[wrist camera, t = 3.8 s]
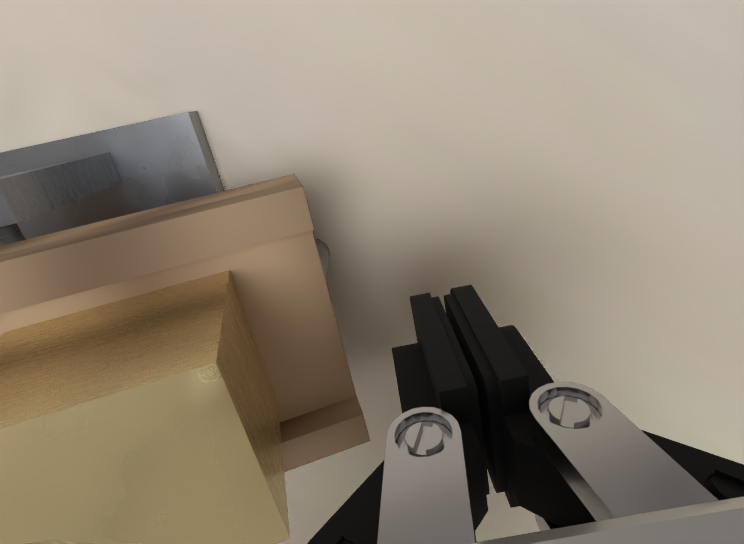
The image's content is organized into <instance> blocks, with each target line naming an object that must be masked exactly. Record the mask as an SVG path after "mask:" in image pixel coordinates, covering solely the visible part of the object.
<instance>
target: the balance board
mask: <svg viewBox="0 0 744 544" xmlns="http://www.w3.org/2000/svg"><path fill="white" fill-rule="evenodd" d="M312 230H314V227H313V223H312V219H311V216H310V212H309V208H308V204H307V201H306V197H305V193H304V189H303V186H302V185H301V183H300V182H299V180H298V179H297V178H296V176H295V175H294V174H292V175H288V176H284V177H280V178H276V179H272V180H268V181H264V182H260V183H255V184H251V185H247V186H243V187H239V188H235V189H231V190H227V191H223V192H219V193H214V194H210V195H206V196H202V197H198V198H194V199H190V200H186V201H182V202H178V203H174V204H169V205H165V206H161V207H157V208H153V209H149V210H145V211H141V212H137V213H133V214H128V215H124V216H120V217H116V218H112V219H108V220H104V221H100V222H96V223H92V224H88V225H83V226H79V227H75V228H71V229H67V230H63V231H59V232H55V233H51V234H47V235H42V236H38V237H34V238H30V239H26V240H22V241H18V242H14V243H10V244H6V245H2V246H0V336H1V335H2V334H3V333H4V332H7V331H11V330H14V329H18V328H22V327H25V326H29V325H32V324H36V323H40V322H43V321H47V320H51V319H54V318H58V317H61V316H65V315H69V314H72V313H76V312H79V311H83V310H87V309H90V308H94V307H98V306H101V305H105V304H108V303H112V302H116V301H119V300H123V299H127V298H130V297H134V296H137V295H141V294H145V293H148V292H152V291H156V290H159V289H163V288H166V287H170V286H174V285H177V284H181V283H185V282H188V281H192V280H195V279H199V278H203V277H206V276H210V275H214V274H217V273H221V272H224V271H228V270H229V271H230V273H231V276H232V279H233V281H234V284H235V287H236V290H237V292H238V295H239V298H240V301H241V303H242V306H243V309H244V312H245V314H246V317H247V320H248V323H249V325H250V328H251V331H252V333H253V336H254V339H255V342H256V344H257V347H258V350H259V353H260V355H261V358H262V361H263V364H264V366H265V369H266V372H267V375H268V377H269V380H270V383H271V386H272V388H273V391H274V394H275V396H276V399H277V402H278V410H279V421H280V432H281V444H282V455H283V466H284V472H286V471H288V470H291V469H294V468H297V467H299V466H302V465H305V464H308V463H310V462H313V461H316V460H319V459H321V458H324V457H327V456H330V455H332V454H335V453H338V452H341V451H343V450H346V449H349V448H351V447H354V446H357V445H360V444H362V443H365V442H368V441H370V438H369V435H368V431H367V427H366V423H365V419H364V416H363V413H362V410H361V407H360V404H359V402H358V399H357V396H356V393H355V389H354V385H353V382H352V378H351V374H350V370H349V367H348V363H347V359H346V355H345V352H344V348H343V344H342V340H341V337H340V333H339V329H338V325H337V322H336V318H335V314H334V310H333V307H332V303H331V299H330V295H329V292H328V288H327V284H326V281H325V277H324V273H323V269H322V266H321V262H320V258H319V254H318V251H317V247H316V243H315V239H314V236H313V232H312Z"/></svg>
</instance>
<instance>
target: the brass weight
mask: <svg viewBox="0 0 744 544" xmlns="http://www.w3.org/2000/svg"><path fill="white" fill-rule="evenodd" d="M289 538H290V533H289V522H288V510H287V499H286V488H285V477H284V466H283V455H282V444H281V432H280V421H279V410H278V402H277V399H276V396H275V394H274V391H273V388H272V386H271V383H270V380H269V377H268V375H267V372H266V369H265V366H264V364H263V361H262V358H261V355H260V353H259V350H258V347H257V344H256V342H255V339H254V336H253V333H252V331H251V328H250V325H249V323H248V320H247V317H246V314H245V312H244V309H243V306H242V303H241V301H240V298H239V295H238V292H237V290H236V287H235V284H234V281H233V279H232V276H231V273H230V271H229V270H228V271H224V272H221V273H217V274H214V275H210V276H206V277H203V278H199V279H195V280H192V281H188V282H185V283H181V284H177V285H174V286H170V287H166V288H163V289H159V290H156V291H152V292H148V293H145V294H141V295H137V296H134V297H130V298H127V299H123V300H119V301H116V302H112V303H108V304H105V305H101V306H98V307H94V308H90V309H87V310H83V311H79V312H76V313H72V314H69V315H65V316H61V317H58V318H54V319H51V320H47V321H43V322H40V323H36V324H32V325H29V326H25V327H22V328H18V329H14V330H11V331H7V332H4V333H3V334H2V335H1V336H0V544H276V543H279V542H282V541H284V540H287V539H289Z"/></svg>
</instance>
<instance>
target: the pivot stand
mask: <svg viewBox="0 0 744 544" xmlns="http://www.w3.org/2000/svg"><path fill="white" fill-rule="evenodd" d="M223 191H224V189H223V186H222V183H221V180H220V177H219V174H218V171H217V168H216V165H215V162H214V159H213V157H212V154H211V151H210V148H209V145H208V142H207V139H206V136H205V133H204V130H203V127H202V124H201V122H200V119H199V116H198V113H197V111H193V112H186V113H182V114H177V115H172V116H168V117H163V118H159V119H154V120H149V121H145V122H140V123H136V124H131V125H126V126H122V127H117V128H113V129H108V130H103V131H99V132H94V133H90V134H85V135H80V136H76V137H71V138H67V139H62V140H57V141H53V142H48V143H44V144H39V145H34V146H30V147H25V148H21V149H16V150H11V151H7V152H2V153H0V246H2V245H6V244H10V243H14V242H18V241H22V240H26V239H30V238H34V237H38V236H42V235H47V234H51V233H55V232H59V231H63V230H67V229H71V228H75V227H79V226H83V225H88V224H92V223H96V222H100V221H104V220H108V219H112V218H116V217H120V216H124V215H128V214H133V213H137V212H141V211H145V210H149V209H153V208H157V207H161V206H165V205H169V204H174V203H178V202H182V201H186V200H190V199H194V198H198V197H202V196H206V195H210V194H214V193H219V192H223ZM314 239H315V238H314ZM315 243H316V247H317V251H318V254H319V258H320V262H321V266H322V269H323V273H324V277H325V281H326V278H327V271H328V263H329V249H328V247H327V246H326V244H325V243H323V242H322V241H321V240H318V239H315Z"/></svg>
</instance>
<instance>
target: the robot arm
mask: <svg viewBox="0 0 744 544" xmlns="http://www.w3.org/2000/svg"><path fill="white" fill-rule="evenodd" d="M450 293H451V294H448V295H444V302H445V309H446V312H445V310H444V308H443V306H442V303H441V301H440V299H439V297H433V298H432V297H431V295H430V293H426V294H421V295H416V296H411V297H410V301H411V307H412V313H413V319H414V324H415V330H416V336H417V341H418V343H415V344H410V345H405V346H399V347H394V348H392V353H393V359H394V365H395V371H396V377H397V383H398V389H399V396H400V402H401V408H402V414H401V415H400V416H398V417H397V418H396V419H395V420H394V421H393V422H392V424H391V425H390V426H389V429H388V433H387V437H386V449H385V460H384V461H383V462H382V463H381V464H380V465H379V466H378V467H377V468H376V469H375V471H374V472H373V473H372V474H371V475H370V476H369V477H368V478H367V479H366V480H365V481H364V482H363V484H362V485H361V486H360V487H359V488H358V489H357V490H356V491H355V492H354V493H353V494H352V495H351V497H350V498H349V499H348V500H347V501H346V502H345V503H344V504H343V505H342V506H341V507H340V508H339V510H338V511H337V512H336V513H335V514H334V515H333V516H332V517H331V518H330V519H329V520H328V521H327V523H326V524H325V525H324V526H323V527H322V528H321V529H320V530H319V531H318V532H317V533H316V534H315V536H314V537H313V538H312V539H311V540H310V541H309V542H308V544H744V465H743V464H740V463H737V462H734V461H731V460H728V459H725V458H722V457H719V456H716V455H713V454H710V453H707V452H705V451H702V450H699V449H696V448H693V447H690V446H687V445H684V444H681V443H678V442H675V441H672V440H669V439H666V438H663V437H660V436H658V435H655V434H652V433H649V432H646V431H643V430H640V429H639V428H638V427H637V426H636V425H635V424H634V423H632V422H631V421H630V420H629V419H628V418H627V417H626V416H625V415H624V414H622V413H621V412H620V411H619V410H618V409H617V408H616V407H615V406H614V405H612V404H611V403H610V402H609V401H608V400H607V399H606V398H605V397H604V396H602V395H601V394H599V393H598V392H597V391H595V390H594V389H591V388H589V387H587V386H584V385H581V384H577V383H572V382H555V383H554V381H553V380H552V378H551V377H550V376H549V374H548V373H547V371H546V370H545V368H544V367H543V366H542V364H541V363H540V361H539V360H538V359H537V357H536V356H535V354H534V353H533V352H532V350H531V349H530V347H529V346H528V344H527V343H526V342H525V340H524V339H523V337H522V336H521V335H520V333H519V332H518V330H517V329H516V328H515V327H514V326H513V325H510V326H505V327H499V328H498V326H497V324H496V323H495V321H494V320H493V318H492V317H491V315H490V313H489V312H488V310H487V309H486V307H485V305H484V304H483V302H482V301H481V299H480V298H479V296H478V294H477V293H476V291H475V290H474V288H473V287H472V285H468V286H462V287H457V288H452V289H451V290H450ZM487 469H488V472H489V475H490V478H491V480H492V483H493V486H494V488H495V491H496V492H497V493H499V492H504V491H505V494H506V497H507V499H508V502H509V504H510V507H517V506H521V507H523V508H525V509H527V510H529V511H531V512H533V513H535V518H536V522H537V524H538V527H539V529H540V531H539V532H534V533H528V534H522V535H517V536H511V537H505V538H499V539H494V540H488V541H482V542H476V535H475V530H476V529H477V527H478V526H479V524H480V522H481V521H482V519H483V518H484V516H485V515H486V513H487V511H488V506H487V497H486V495H487V494H489V484H488V475H487Z"/></svg>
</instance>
